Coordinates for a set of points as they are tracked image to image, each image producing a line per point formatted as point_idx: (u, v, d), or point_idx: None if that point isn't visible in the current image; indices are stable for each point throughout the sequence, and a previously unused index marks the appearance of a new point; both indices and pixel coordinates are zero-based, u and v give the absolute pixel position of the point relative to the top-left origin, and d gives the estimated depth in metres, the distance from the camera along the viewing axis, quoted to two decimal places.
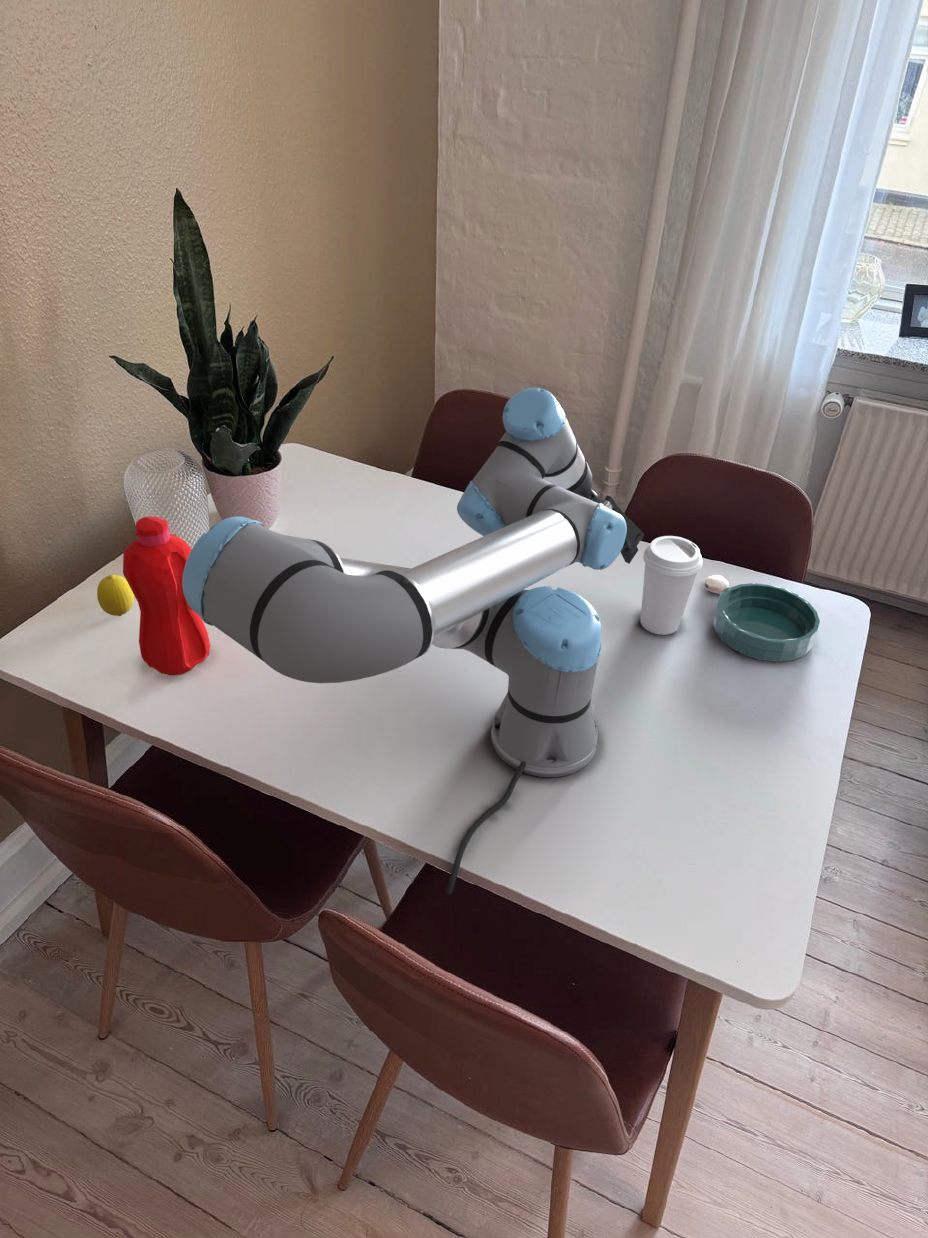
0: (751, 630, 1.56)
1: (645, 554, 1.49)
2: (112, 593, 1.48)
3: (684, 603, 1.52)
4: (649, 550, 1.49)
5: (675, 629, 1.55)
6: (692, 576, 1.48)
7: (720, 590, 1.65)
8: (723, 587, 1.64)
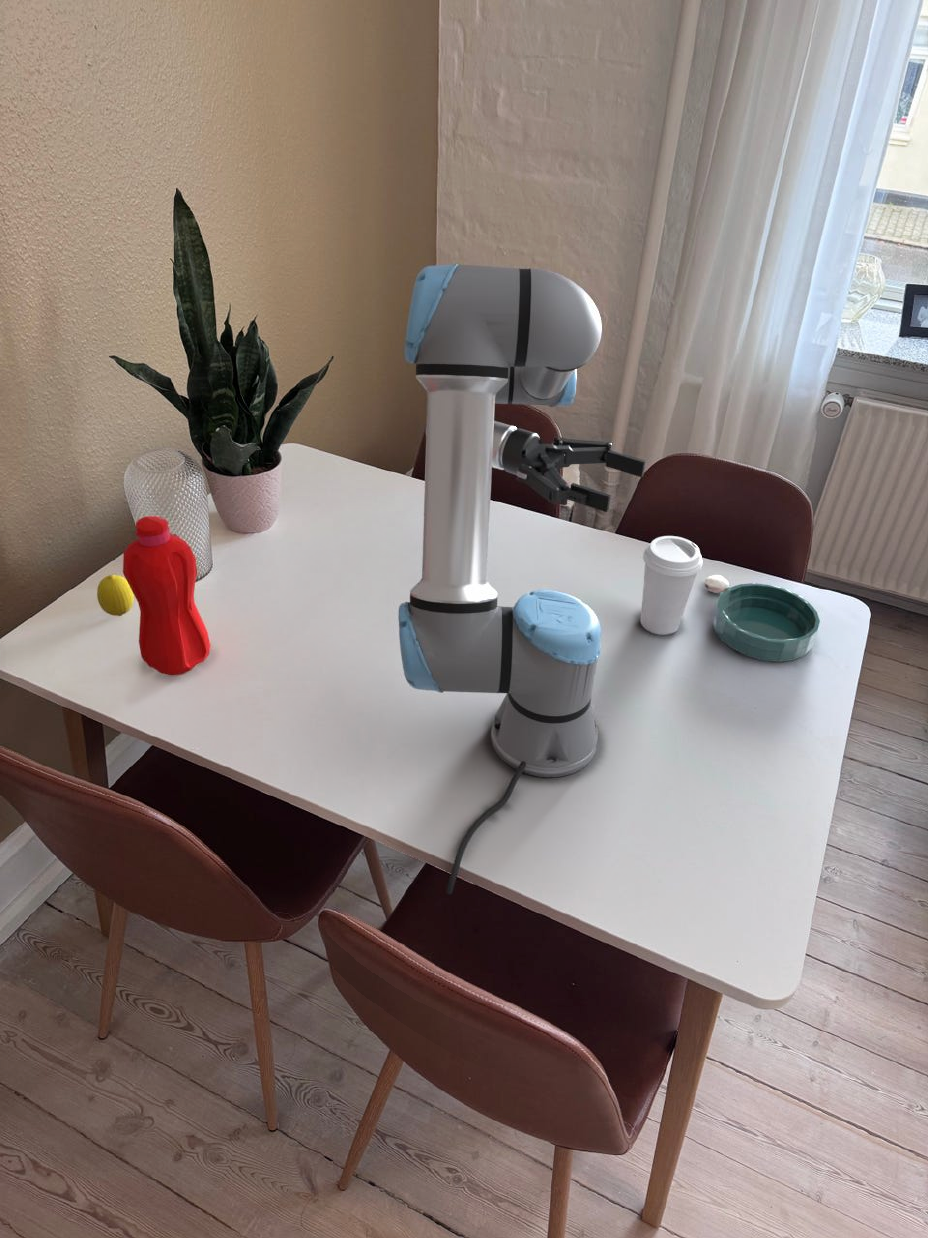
0: (751, 630, 1.56)
1: (645, 554, 1.49)
2: (112, 593, 1.48)
3: (684, 603, 1.52)
4: (649, 550, 1.49)
5: (675, 629, 1.55)
6: (692, 576, 1.48)
7: (720, 590, 1.65)
8: (723, 587, 1.64)
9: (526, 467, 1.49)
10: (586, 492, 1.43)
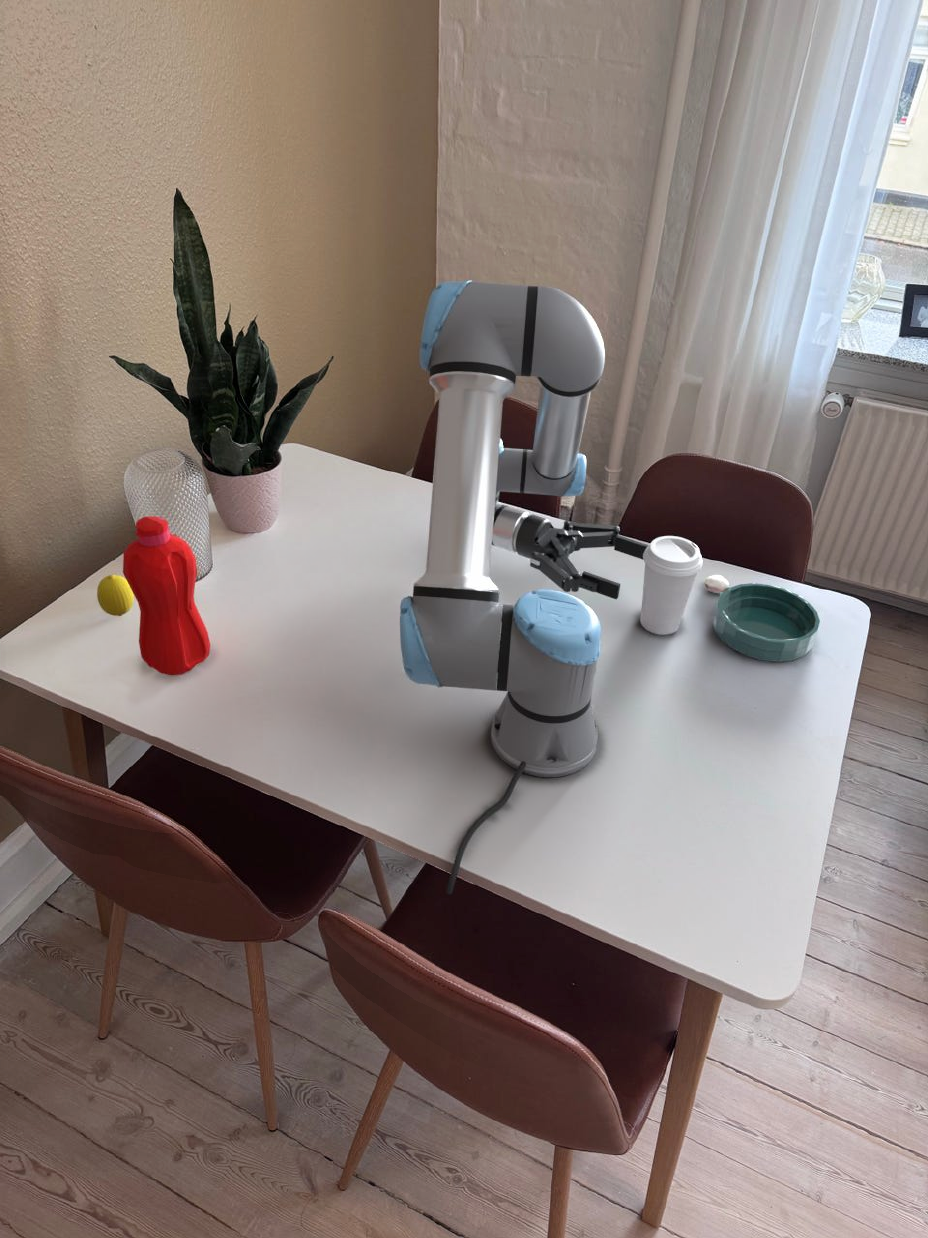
0: (751, 630, 1.56)
1: (645, 554, 1.49)
2: (112, 593, 1.48)
3: (684, 603, 1.52)
4: (649, 550, 1.49)
5: (675, 629, 1.55)
6: (692, 576, 1.48)
7: (720, 590, 1.65)
8: (723, 587, 1.64)
9: (539, 554, 1.56)
10: (597, 580, 1.51)
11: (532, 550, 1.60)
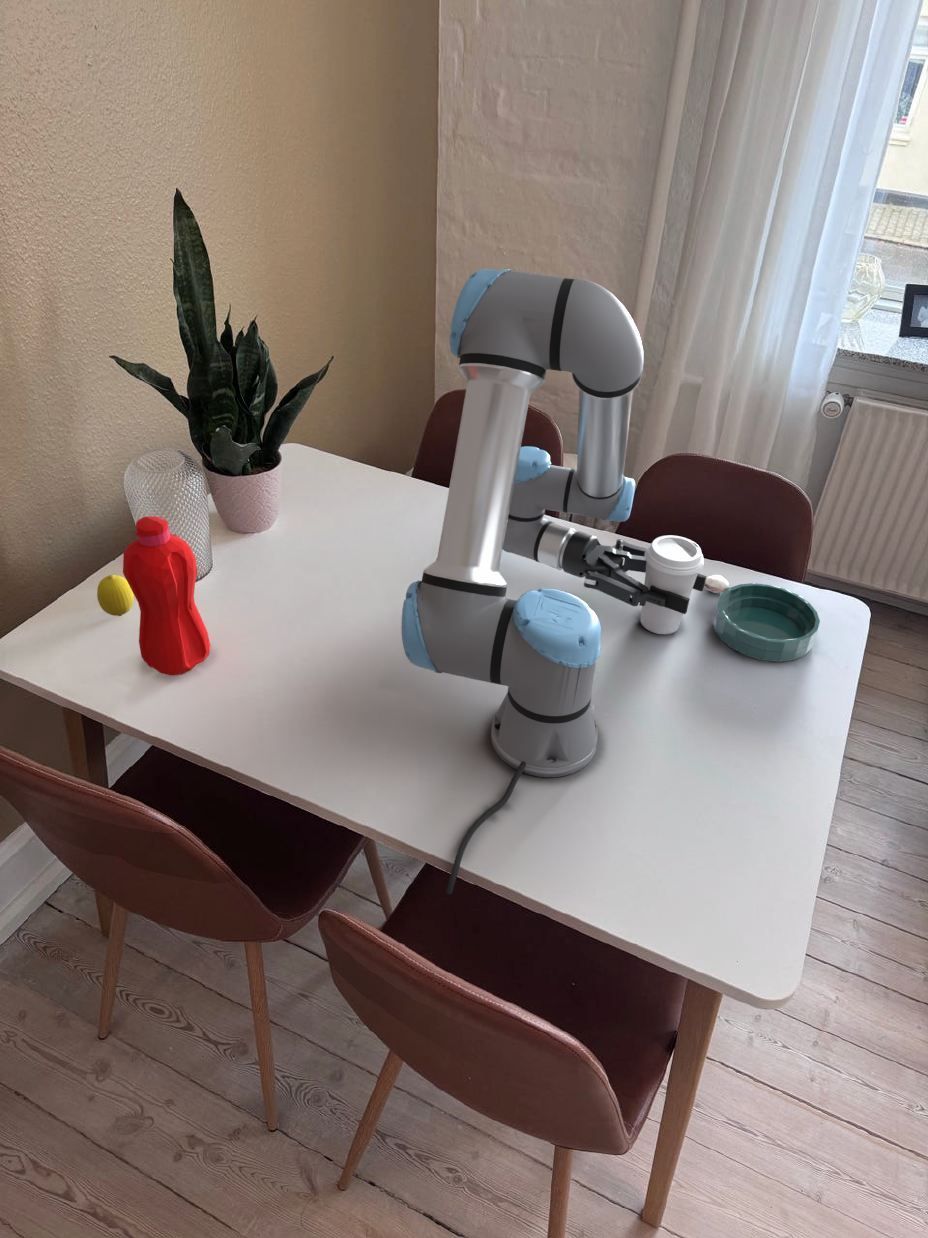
0: (751, 630, 1.56)
1: (647, 553, 1.49)
2: (112, 593, 1.48)
3: None
4: (651, 549, 1.49)
5: (675, 629, 1.55)
6: (693, 575, 1.48)
7: (720, 590, 1.65)
8: (723, 587, 1.64)
9: (594, 573, 1.52)
10: (665, 595, 1.49)
11: (579, 568, 1.56)
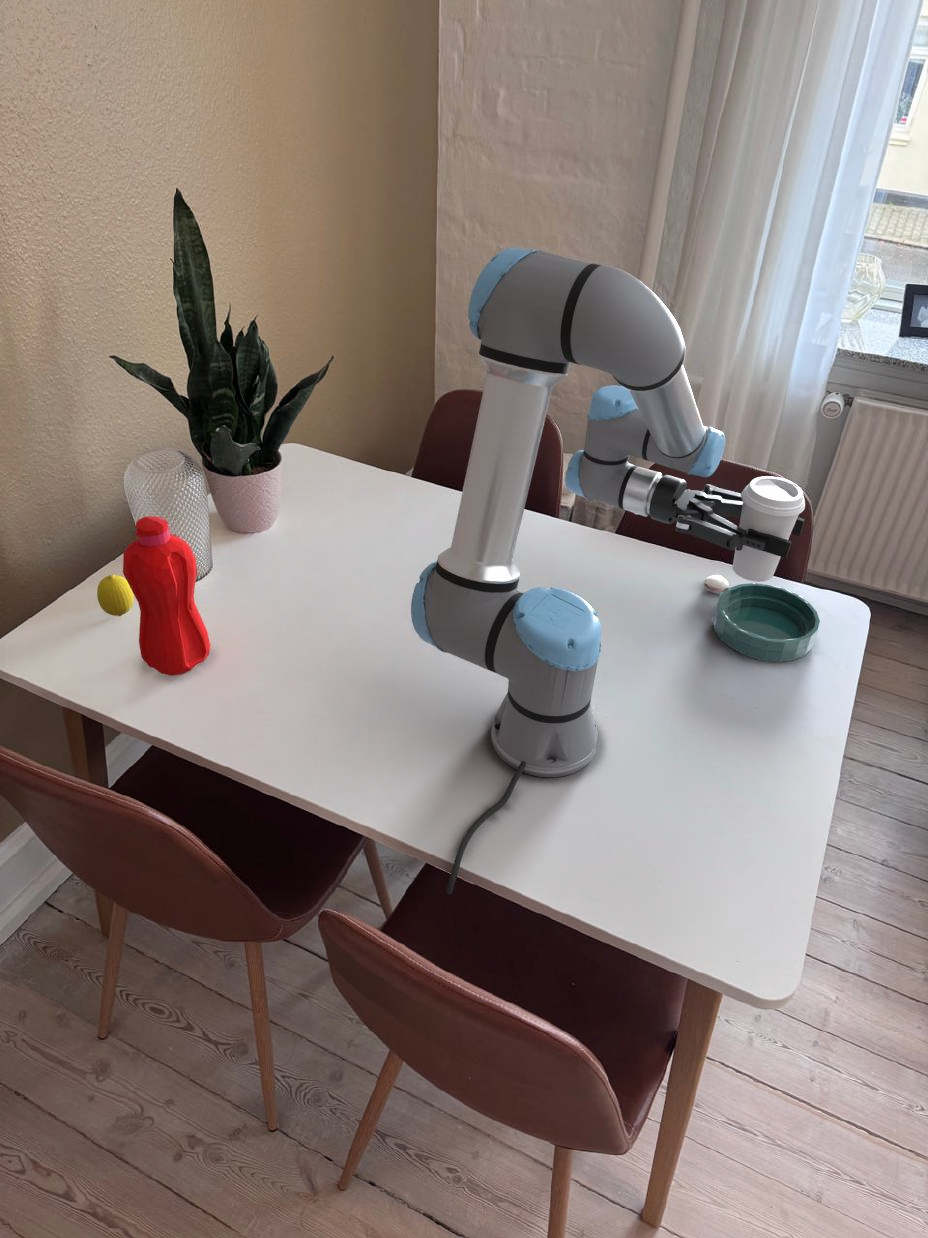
0: (751, 630, 1.56)
1: (744, 494, 1.42)
2: (112, 593, 1.48)
3: None
4: (749, 489, 1.41)
5: (771, 576, 1.48)
6: (795, 517, 1.40)
7: (720, 590, 1.65)
8: (723, 587, 1.64)
9: (687, 517, 1.44)
10: (765, 538, 1.41)
11: (669, 512, 1.48)
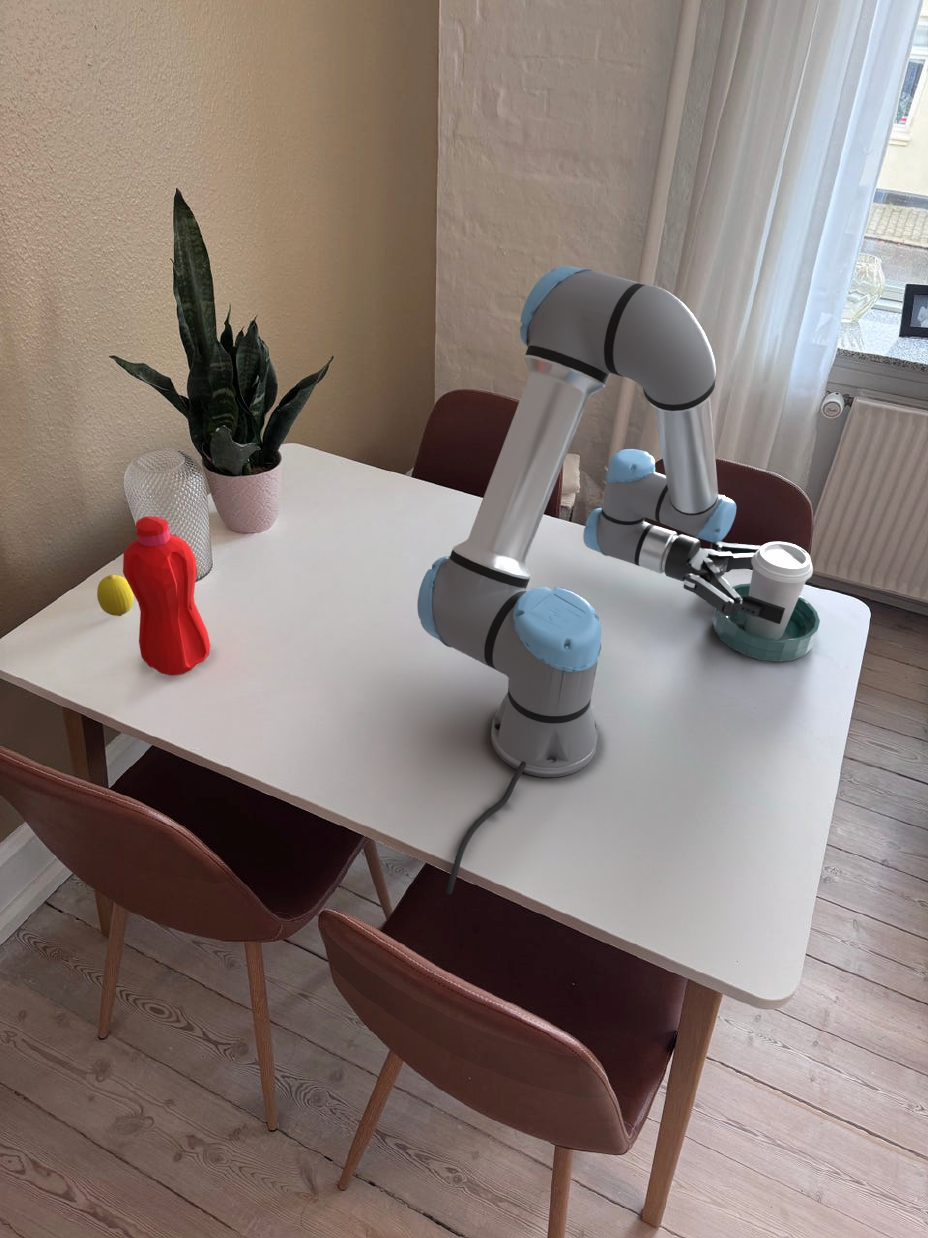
0: None
1: (754, 560, 1.48)
2: (112, 593, 1.48)
3: (792, 609, 1.50)
4: (759, 556, 1.47)
5: (780, 635, 1.54)
6: (803, 582, 1.47)
7: None
8: None
9: (694, 576, 1.51)
10: (759, 604, 1.46)
11: (684, 571, 1.54)
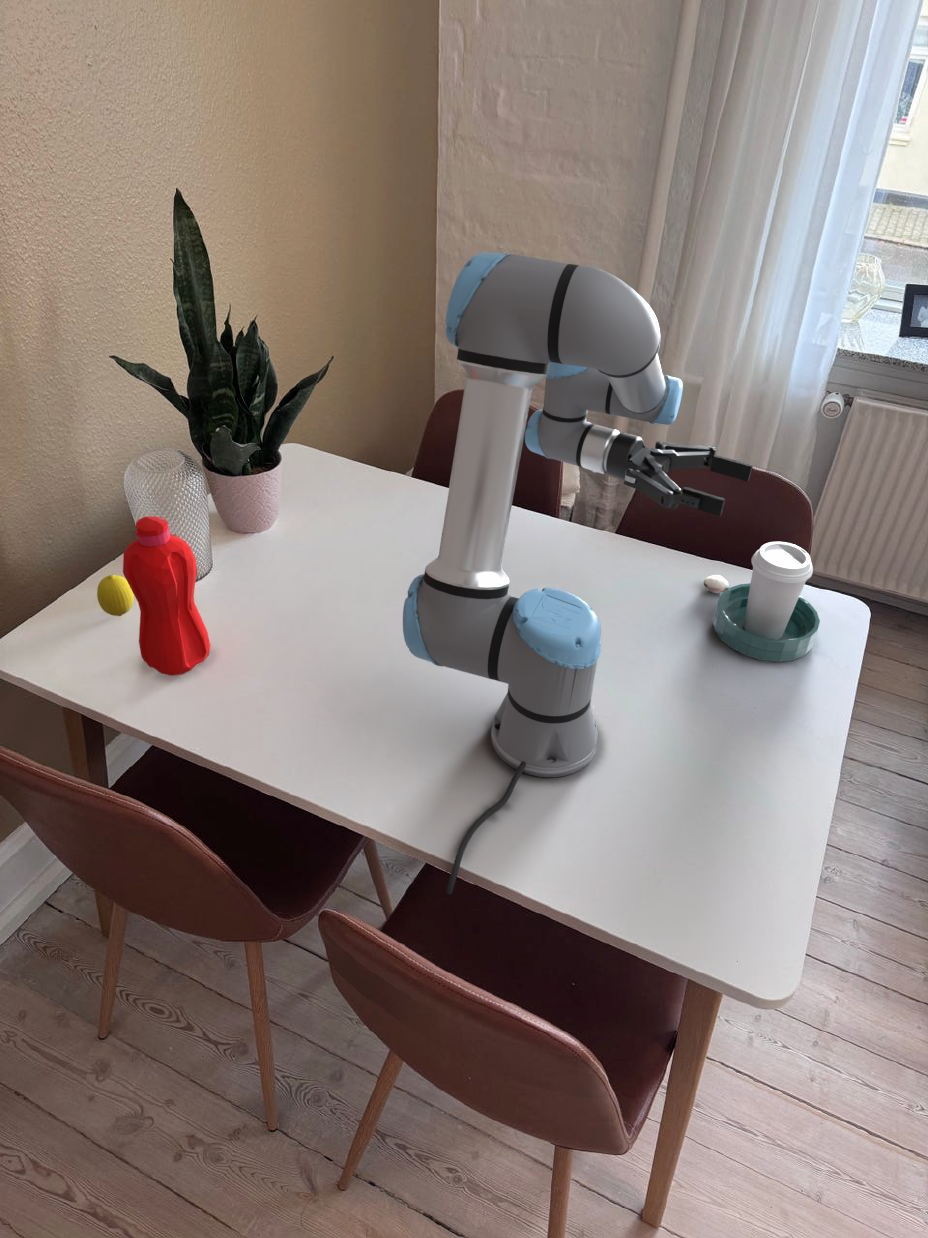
0: None
1: (754, 560, 1.48)
2: (112, 593, 1.48)
3: (792, 609, 1.50)
4: (759, 556, 1.47)
5: (780, 635, 1.54)
6: (803, 582, 1.47)
7: (720, 590, 1.65)
8: (723, 587, 1.64)
9: (634, 471, 1.47)
10: (699, 496, 1.42)
11: (625, 468, 1.50)
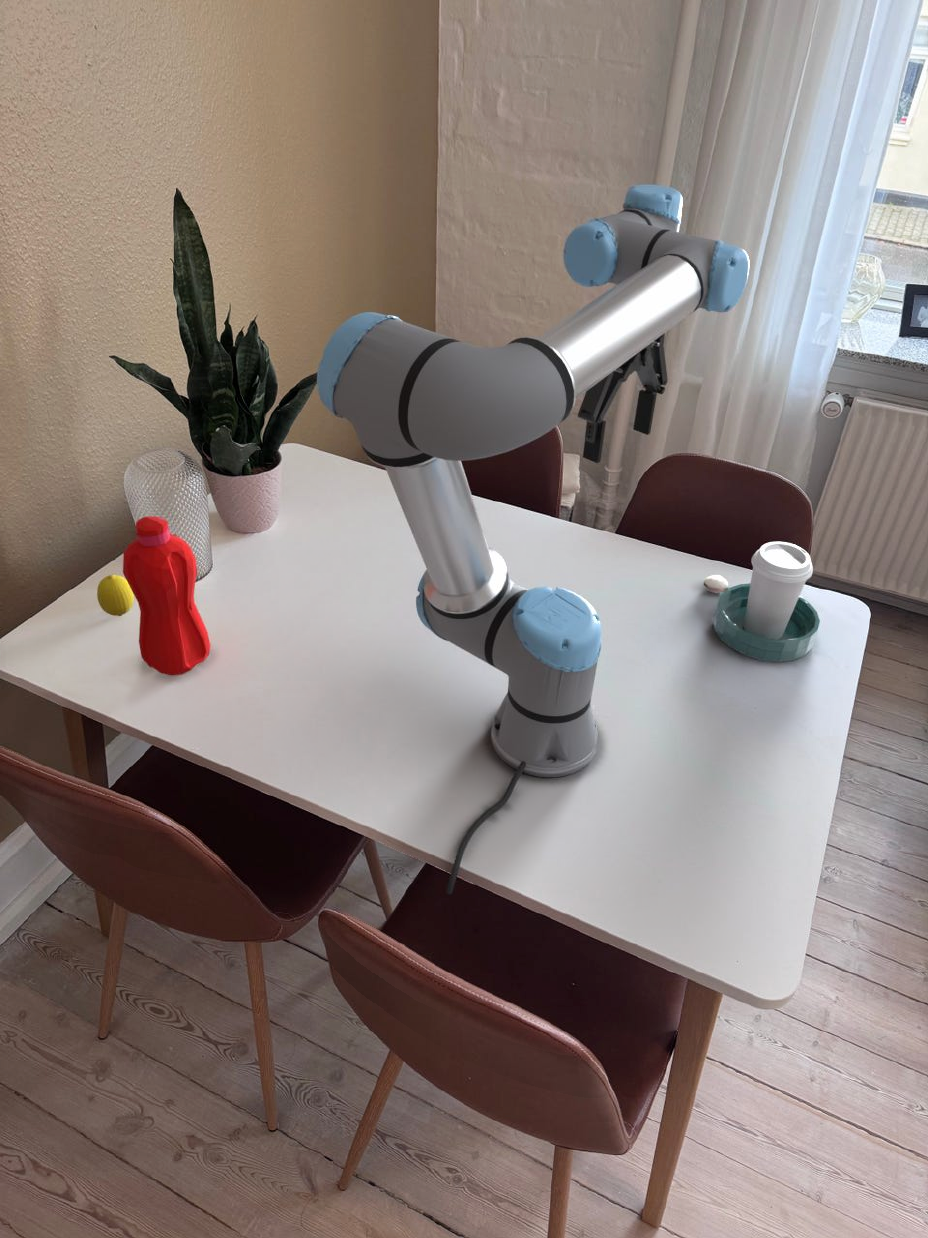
0: None
1: (754, 560, 1.48)
2: (112, 593, 1.48)
3: (792, 609, 1.50)
4: (759, 556, 1.47)
5: (780, 635, 1.54)
6: (803, 582, 1.47)
7: (720, 590, 1.65)
8: (722, 587, 1.64)
9: None
10: (598, 439, 1.35)
11: None
